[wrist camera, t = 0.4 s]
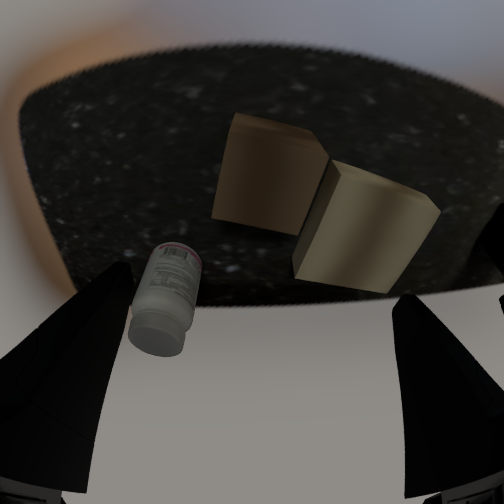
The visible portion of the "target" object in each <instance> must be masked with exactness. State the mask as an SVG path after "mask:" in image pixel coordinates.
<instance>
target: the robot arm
mask: <svg viewBox="0 0 504 504" xmlns="http://www.w3.org/2000/svg"><path fill="white" fill-rule="evenodd" d="M474 251H475V253H476V254H479V255H481V256H484V257H486V258H489V259H491V260H492V261H493V262H494V264H495V265H496V266H497V268H498V269H499V271H500V272H501V274H502V275H503V277H504V203H502V204H501V206H500V207H499V209H498V211H497V213H496V214H495V216H494V218H493V219H492V221H491V223H490V224H489V226H488V228H487V229H486V231H485V232H484V234H483V236H482V237H481V239H480V240H479V242H478V243H477V245H476V246H475V248H474ZM133 289H134V280H133V276H132V271H131V266H130V264H129V263H126V262H119V261H118V262H115V263H114V264H113V265H111V266H110V267H109V268H108V269H106V270H105V271H104V272H102V273H101V274H100V275H99V276H97V277H96V278H95V279H94V280H92V281H91V282H90V283H89V284H87V285H86V286H85V287H84V288H82V289H81V290H80V291H79V292H78V293H76V294H75V295H74V296H73V297H72V298H70V299H69V300H68V301H67V302H66V303H64V304H63V305H62V306H61V307H60V308H59V309H57V310H56V311H55V312H54V313H53V314H52V315H51V316H50V317H48V318H47V319H46V320H45V321H44V322H43V323H42V324H40V325H39V327H38V328H36V329H35V330H34V331H33V332H32V333H30V334H29V335H28V336H27V337H26V338H25V339H24V340H23V341H22V342H20V343H19V344H18V345H17V346H16V347H15V348H13V349H12V350H11V351H10V352H9V353H8V354H6V355H5V356H4V357H2V358H1V359H0V504H66V503H65V501H64V500H63V498H62V497H61V494H62V491H68V492H76V493H86V492H87V486H88V479H89V472H90V466H91V459H92V454H93V448H94V442H95V437H96V432H97V428H98V423H99V419H100V414H101V410H102V406H103V402H104V398H105V394H106V390H107V386H108V382H109V379H110V375H111V372H112V368H113V365H114V361H115V358H116V355H117V351H118V348H119V345H120V342H121V339H122V335H123V332H124V328H125V324H126V319H127V315H128V310H129V306H130V301H131V297H132V293H133ZM499 302H500V304H501V308H502V311H503V314H504V295H503V296H501V297H500V298H499ZM392 320H393V331H394V344H395V354H396V361H397V367H398V375H399V382H400V390H401V400H402V410H403V423H404V439H405V492H404V496H405V499H407V498H413V497H418V496H423V495H428V494H433V493H437V492H440V493H438V494H436V495H434V496H432V497H429V498H427V499H425V501H424V503H423V504H504V391H503V390H502V388H501V387H499V385H498V384H497V383H496V382H495V381H494V380H493V379H492V378H491V376H489V374H488V373H487V372H486V371H485V370H484V368H483V367H482V366H481V365H480V364H479V363H478V361H477V360H475V358H474V357H473V356H472V355H471V353H470V352H469V351H468V350H467V349H466V348H465V347H464V346H463V344H462V343H461V342H460V341H459V340H458V339H457V338H456V337H455V336H454V334H453V333H452V332H451V331H450V330H449V329H448V328H447V327H446V326H445V325H444V324H443V323H442V322H441V321H440V320H439V319H438V318H437V316H436V315H435V314H434V313H433V312H432V311H431V310H430V309H429V308H428V307H426V305H425V304H424V303H423V302H422V301H421V300H420V299H419V298H418V297H417V296H416V295H415V294H411V293H404V294H403V295H402V296H401V297H400V299H399V300H398V302H397V303H396V305H395V306H394V308H393V310H392Z"/></svg>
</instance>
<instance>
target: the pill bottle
mask: <svg viewBox="0 0 504 504" xmlns="http://www.w3.org/2000/svg"><path fill="white" fill-rule="evenodd" d="M201 273H202V262H201V260H200V258H199V256H198V254H197V253H196V252H195V251H194V250H193V249H191V248H190V247H188V246H187V245H184V244H181V243H177V242H168V243H163V244H161V245H159V246H157V247H156V248H155V249H154V250H153V252H152V253H151V255H150V258H149V261H148V263H147V266H146V269H145V271H144V274H143V277H142V279H141V282H140V284H139V287H138V289H137V292H136V295H135V297H134V300H133V303H132V308H131V310H132V315H133V318H132V319H131V322H130V327H129V331H128V338H129V340H130V342H131V343H132V344H133V345H134V346H136V347H137V348H138V349H140V350H141V351H143V352H146V353H148V354H151V355H155V356H161V357H171V356H175V355H178V354H179V353H181V351H182V349H183V345H184V341H185V332H186V331H188V330H189V328H190V327H191V325H192V321H193V316H194V311H195V305H196V299H197V294H198V288H199V283H200V278H201Z"/></svg>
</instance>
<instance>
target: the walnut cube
mask: <svg viewBox="0 0 504 504" xmlns="http://www.w3.org/2000/svg"><path fill="white" fill-rule="evenodd" d="M328 159H329V156H328V155H327V153H326V152H325V150H324V149H323V147H322V146H321V144H320V143H319V142H318V140H317V139H316V137H315V136H314V135H313V133H312V132H311V131H308V130H305V129H301V128H298V127H294V126H291V125H287V124H283V123H280V122H276V121H272V120H268V119H264V118H259V117H255V116H251V115H246V114H241V113H237V112H236V113H235V116H234V119H233V122H232V125H231V127H230V130H229V134H228V139H227V143H226V148H225V152H224V157H223V162H222V166H221V171H220V176H219V181H218V186H217V191H216V196H215V201H214V207H213V212H212V217H211V218H214V219H219V220H225V221H230V222H235V223H240V224H245V225H250V226H255V227H260V228H264V229H269V230H274V231H279V232H284V233H288V234H293V235H298V234H299V231H300V229H301V227H302V224H303V222H304V219H305V217H306V214H307V212H308V209H309V207H310V204H311V202H312V199H313V197H314V194H315V192H316V189H317V187H318V184H319V182H320V179H321V177H322V174H323V172H324V169H325V166H326V164H327V161H328Z"/></svg>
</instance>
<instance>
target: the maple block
mask: <svg viewBox="0 0 504 504" xmlns="http://www.w3.org/2000/svg"><path fill="white" fill-rule="evenodd" d="M440 213H441V211H440V210H439V209H438V208H437V207H436V206H435V205H434V203H433V202H432V201H431V200H430V199H429V198H428V197H427V196H426V195H425V194H423V193H420V192H418V191H416V190H413V189H411V188H409V187H406V186H404V185H401V184H399V183H396V182H394V181H391V180H389V179H386V178H383V177H381V176H378V175H375V174H373V173H370V172H367V171H364V170H362V169H359V168H356V167H353V166H350V165H347V164H344V163H341V162H338V161H335V160H331V162H330V164H329V167H328V169H327V172H326V175H325V177H324V180H323V182H322V185H321V187H320V190H319V192H318V195H317V197H316V200H315V202H314V205H313V207H312V210H311V212H310V214H309V217H308V219H307V222H306V224H305V227H304V229H303V231H302V234H301V236H300V238H299V241H298V243H297V246H296V248H295V250H294V253H293V255H292V262H293V269H294V276H295V278H296V279H301V280H307V281H313V282H319V283H325V284H331V285H337V286H343V287H349V288H355V289H361V290H368V291H374V292H380V293H387V292H388V291H389V290H390V288H391V287H392V286H393V284H394V283H395V282H396V280H397V279H398V278H399V276H400V275H401V273H402V272H403V271H404V269H405V268H406V266H407V265H408V263H409V262H410V260H411V259H412V258H413V256H414V255H415V253H416V252H417V250H418V249H419V247H420V245H421V244H422V242H423V241H424V239H425V238H426V236H427V234H428V233H429V231H430V230H431V228H432V226H433V225H434V223H435V221H436V220H437V218H438V216H439V215H440Z"/></svg>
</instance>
